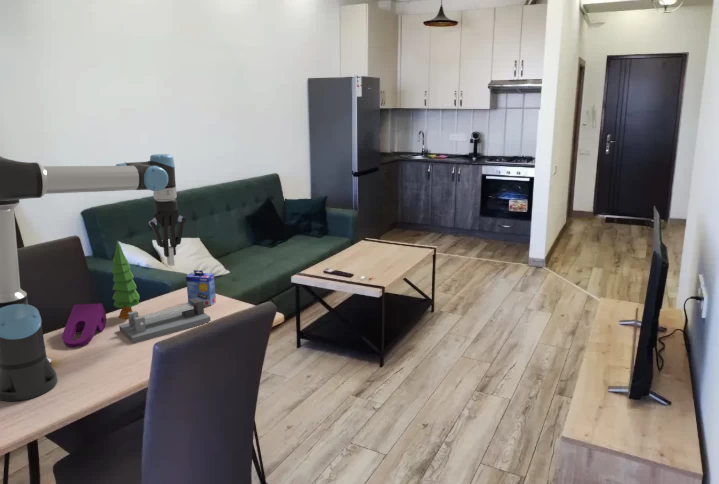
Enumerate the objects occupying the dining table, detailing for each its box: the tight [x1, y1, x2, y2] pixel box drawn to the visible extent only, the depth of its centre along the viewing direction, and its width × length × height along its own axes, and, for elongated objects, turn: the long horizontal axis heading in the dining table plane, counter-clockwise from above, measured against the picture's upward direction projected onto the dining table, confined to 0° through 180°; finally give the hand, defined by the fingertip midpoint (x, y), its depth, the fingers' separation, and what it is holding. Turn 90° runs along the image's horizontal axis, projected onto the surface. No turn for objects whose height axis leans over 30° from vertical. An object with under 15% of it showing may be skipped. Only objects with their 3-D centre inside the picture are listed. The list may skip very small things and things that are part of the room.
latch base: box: [118, 298, 212, 344], centre depth 196 cm, size 28×14×7 cm, turn 131°
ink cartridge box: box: [185, 269, 217, 306], centre depth 217 cm, size 10×6×14 cm, turn 82°
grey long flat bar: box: [132, 303, 194, 322], centre depth 195 cm, size 21×4×2 cm, turn 131°
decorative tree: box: [111, 239, 140, 321], centre depth 202 cm, size 10×9×30 cm
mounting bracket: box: [61, 303, 107, 348], centre depth 188 cm, size 10×8×18 cm
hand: (171, 264), depth 193 cm, fingers closed
